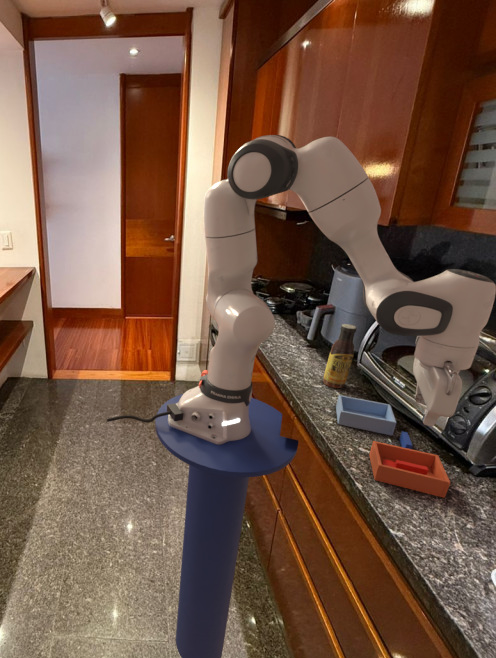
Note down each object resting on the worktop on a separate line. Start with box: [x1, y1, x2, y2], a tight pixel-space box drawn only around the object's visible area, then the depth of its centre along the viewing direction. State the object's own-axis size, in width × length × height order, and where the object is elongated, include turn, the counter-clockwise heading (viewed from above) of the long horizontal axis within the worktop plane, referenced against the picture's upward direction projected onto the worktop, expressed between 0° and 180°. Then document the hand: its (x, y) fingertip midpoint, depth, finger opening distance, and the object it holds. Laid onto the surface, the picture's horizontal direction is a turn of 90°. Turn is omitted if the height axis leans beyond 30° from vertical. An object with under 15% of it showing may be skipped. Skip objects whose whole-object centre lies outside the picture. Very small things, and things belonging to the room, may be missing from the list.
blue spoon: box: [399, 430, 414, 450], centre depth 93 cm, size 8×3×2 cm, turn 154°
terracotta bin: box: [368, 440, 451, 499], centre depth 84 cm, size 12×9×4 cm
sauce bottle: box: [322, 323, 357, 389], centre depth 119 cm, size 7×6×20 cm
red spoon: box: [382, 460, 428, 475], centre depth 85 cm, size 8×3×2 cm, turn 64°
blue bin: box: [335, 394, 397, 437], centre depth 104 cm, size 12×9×4 cm
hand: (423, 412), depth 81 cm, fingers open, 8 cm apart
